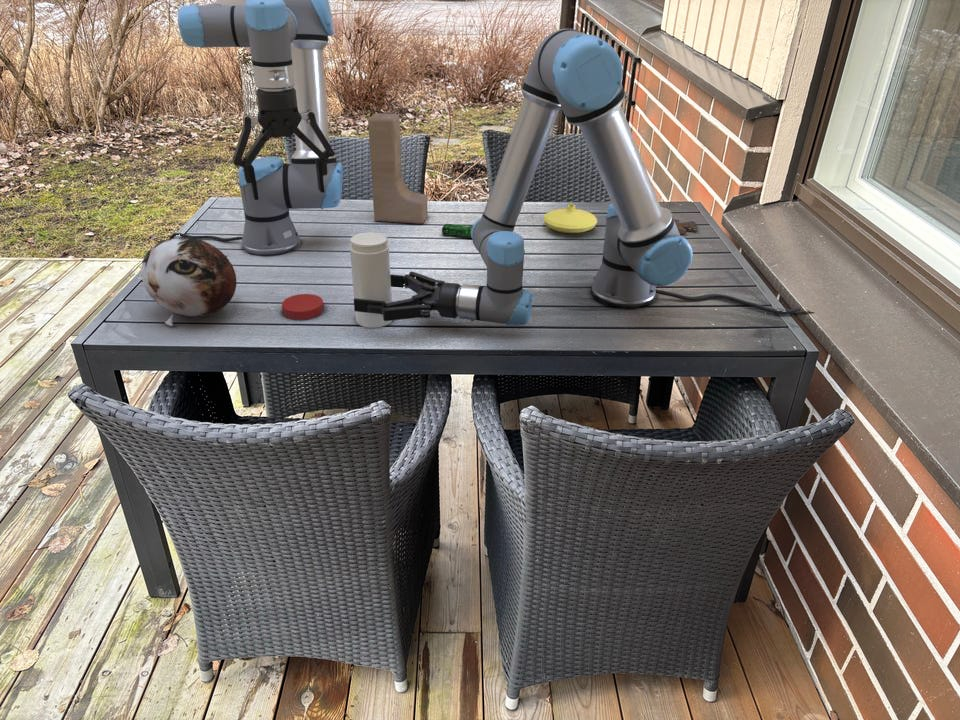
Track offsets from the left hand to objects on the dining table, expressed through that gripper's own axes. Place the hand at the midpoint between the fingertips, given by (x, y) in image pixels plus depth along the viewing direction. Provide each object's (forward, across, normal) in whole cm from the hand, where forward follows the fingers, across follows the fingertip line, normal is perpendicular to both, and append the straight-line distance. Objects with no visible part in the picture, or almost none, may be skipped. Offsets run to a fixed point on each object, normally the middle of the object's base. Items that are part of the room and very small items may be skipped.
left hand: (289, 194), depth 150 cm
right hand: (+20, +12, -10) cm, 26 cm away
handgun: (+28, +56, +31) cm, 70 cm away
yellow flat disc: (+28, +83, +24) cm, 90 cm away
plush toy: (+27, -23, +7) cm, 36 cm away
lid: (+25, 0, -1) cm, 25 cm away
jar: (+27, +14, -11) cm, 32 cm away
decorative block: (+28, +39, +49) cm, 69 cm away
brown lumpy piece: (+28, +106, +15) cm, 111 cm away
